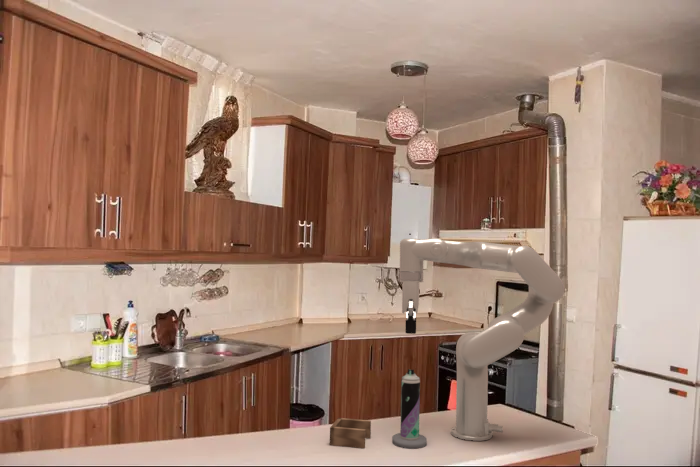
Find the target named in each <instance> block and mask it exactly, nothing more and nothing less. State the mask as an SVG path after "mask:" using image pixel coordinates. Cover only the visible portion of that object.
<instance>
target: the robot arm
mask: <svg viewBox="0 0 700 467" xmlns="http://www.w3.org/2000/svg"><path fill="white" fill-rule="evenodd" d="M424 261H428V262H433V263H443V264H451V265H457V266H465V267H469V268H472V269H473V268H474V269H481V270H488V271H489V270H490V271H498V272H505V273H514V274H518V275H519V276H520V278H521V279H522V280H523V281H524V283H525V284H526V285H527V286H528V293H527V296H526V299H525V300H524V301H523V302H522V303H520V304H519V305H517V306H515V307H513V308H512V309H510V310H509V311H507V312H505V313H502V314H500V315H498V316H497V317H494V318H493V319H491V321H490V322H489V323H488V326H487V328H485V329H483V330H481V331H480V332H475V331H468V332H465V333H463V334H462V335H461V336H460V337H459V338H458V340H457V343H456V348H455V352H456V354H455V357H456V390H455V392H456V394H455V395H456V397H455V399H456V404H455V407H456V409H455V412H456V413H455V426H453V427H452V428H451V429H450V434H451V435H452V436H454V437H456V438H457V437H458V438H457V439H461V440H464V439H465V441H471V440H473V441H475V442H477V441H479V442H482V441H487V440H490V439H491V438H492V437H493V432H495V433H503V430H504V427H503V425H499V424H497V423H491V422H489V418H488V403H489V402H488V399H489V398H488V392H489V390H488V386H489V370H488V366H489V365H491V364H493V363H495V362H496V361H498V360H500V359H502V358H504V357H506V356H508V355H509V354H511V353H512V352H514V351H515V350H517V349H518V348H520V346H521V345H522V343H523V341H524V339H525V335H527V334H528V333H531V331H533V330H535V329H536V328H538V327H539V326H541V325H542V324H544V323H545V322H546V320H547V319H548V318H549V316H550V315H551V313H552V310H553V308H554V303H556V302H558V301H560V300H561V299H562V298H563V296H564V295H565V284H564V282H563V280H562V278H561V277H560V276H559V275H558V273H556V272H555V270H554V269H553V268H551V266H550V265H549V264H548V263H547V262H546V261H545V260H544V259H543V257H542V256H541V255H540V254H539V253H538V252H537V251H536V250H535V249H534V248H532V247H531V246H527V245H512V244H503V243H496V242H495V243H493V242H488V241H487V242H486V241H471V242H470V241H469V242H468V241H467V242H465V241H464V242H463V241H453V240H443V239H441V238H439V237H433V238H426V239H425V238H424V239H421V238H403V239H401V240H400V242H399V283H402V288H401V289H402V290H401V293H402V294H401V296H402V297H401V312H402V314H406V319H405V330H404V331H405V334H408V335H409V334H412V335H414V334H416V333H417V316H416V315H417V314H418V311H419V305H420V283H424Z"/></svg>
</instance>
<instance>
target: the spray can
mask: <svg viewBox="0 0 700 467" xmlns="http://www.w3.org/2000/svg"><path fill="white" fill-rule="evenodd" d="M400 383H401V384H400V391H401V392H400V437H401V439H404V440H409V441H414V440H418V439H419V434H420V409H421V408H420V406H421V404H420V400H421V399H420V397H421V396H420V395H421V393H420V391H421V379H420V376H417V374H416V373H415V369H407V372H406V373H405V375H403V376H401V382H400Z"/></svg>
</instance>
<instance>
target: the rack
mask: <svg viewBox="0 0 700 467" xmlns="http://www.w3.org/2000/svg"><path fill="white" fill-rule="evenodd" d="M371 429H372V420H368V419H357V418H356V419H355V418H344V417H337V419H335V421H334V422H333V423H332V425H331V426H330V427H329V446H334V447H345V448H356V449H357V448H358V449H365V448H366V439H371V434H372V432H371V431H372V430H371Z"/></svg>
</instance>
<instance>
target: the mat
mask: <svg viewBox="0 0 700 467" xmlns="http://www.w3.org/2000/svg"><path fill="white" fill-rule="evenodd" d="M391 442H392V444H393V445H394V446H396V447H398V448H402V449H409V450H410V449H411V450H412V449H413V450H414V449H415V450H416V449H423V448H424V447H426V446H427V437H426V436H424V435H422V434H420V433H419V439H418V440H414V441H409V440H404V439H401V437H400V433H395V434H394V435H392V441H391Z"/></svg>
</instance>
